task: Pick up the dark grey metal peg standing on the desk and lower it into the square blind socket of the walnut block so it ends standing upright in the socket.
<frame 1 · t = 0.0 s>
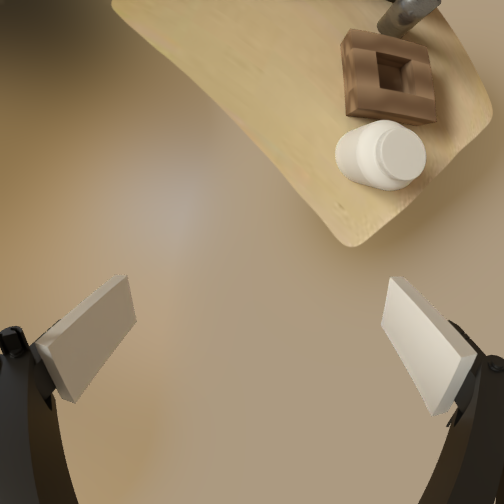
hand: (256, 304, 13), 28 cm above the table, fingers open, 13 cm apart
peg: (389, 29, 29), on the table
pill bottle: (359, 156, 37), on the table
socket block: (380, 83, 33), on the table
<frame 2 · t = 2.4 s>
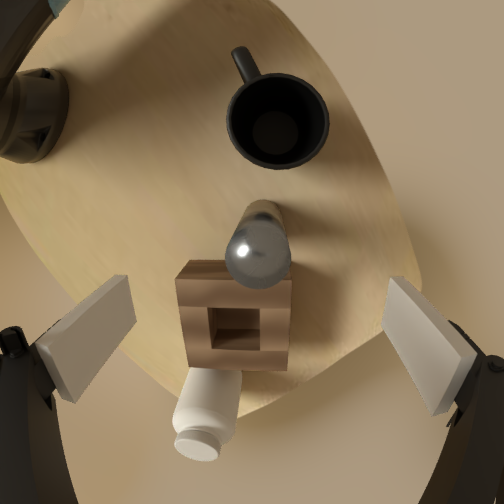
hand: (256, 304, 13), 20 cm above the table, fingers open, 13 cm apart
peg: (262, 218, 32), on the table
pill bottle: (216, 371, 40), on the table
socket block: (239, 304, 35), on the table
mug: (268, 118, 29), on the table
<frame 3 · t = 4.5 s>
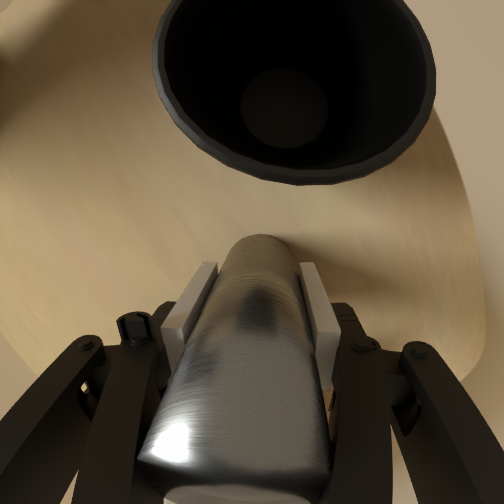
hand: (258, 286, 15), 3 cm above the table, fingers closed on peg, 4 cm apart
peg: (260, 268, 18), on the table, touching gripper
mug: (271, 81, 14), on the table
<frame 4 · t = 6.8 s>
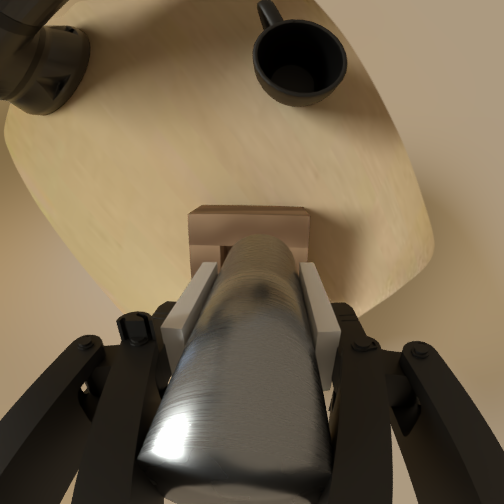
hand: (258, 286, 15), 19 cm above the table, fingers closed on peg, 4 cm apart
peg: (260, 268, 18), point 16 cm above the table, touching gripper
socket block: (251, 254, 34), on the table
mug: (286, 71, 28), on the table
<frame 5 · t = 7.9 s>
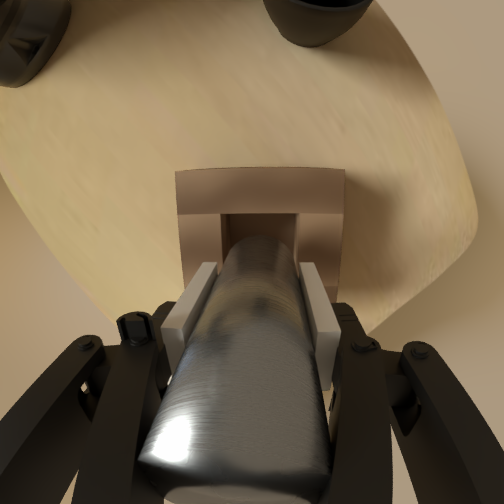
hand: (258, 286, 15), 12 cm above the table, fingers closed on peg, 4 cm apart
peg: (260, 269, 18), point 9 cm above the table, touching gripper
socket block: (262, 231, 26), on the table
mug: (296, 12, 19), on the table
when the fingers open (8 cm above the table, at t = 9.0 s): peg drops 3 cm, resting on socket block.
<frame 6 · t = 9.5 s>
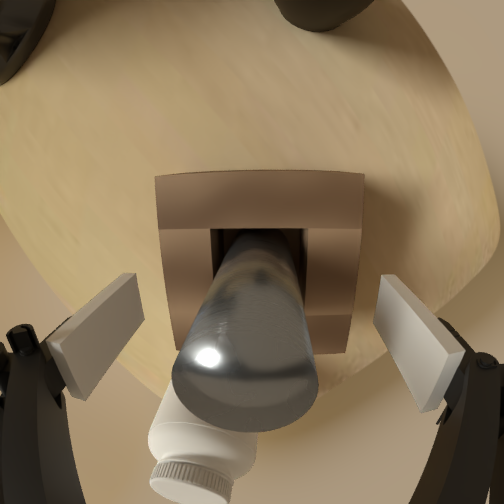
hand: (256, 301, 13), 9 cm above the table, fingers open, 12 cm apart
peg: (260, 251, 21), point 2 cm above the table, touching socket block
pill bottle: (222, 361, 26), on the table
socket block: (262, 246, 22), on the table
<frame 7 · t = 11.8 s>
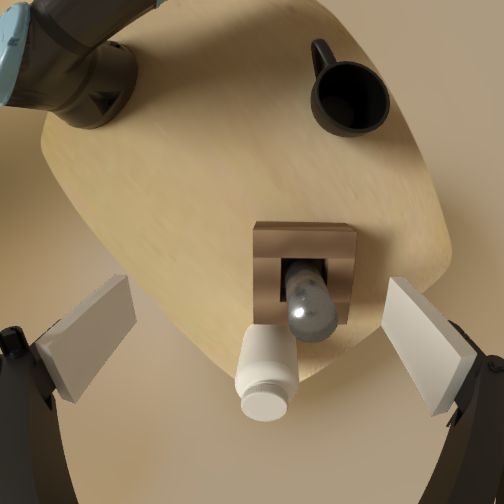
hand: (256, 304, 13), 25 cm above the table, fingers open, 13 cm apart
peg: (300, 268, 37), point 2 cm above the table, touching socket block
pill bottle: (269, 337, 42), on the table
socket block: (300, 265, 38), on the table
mug: (329, 101, 32), on the table
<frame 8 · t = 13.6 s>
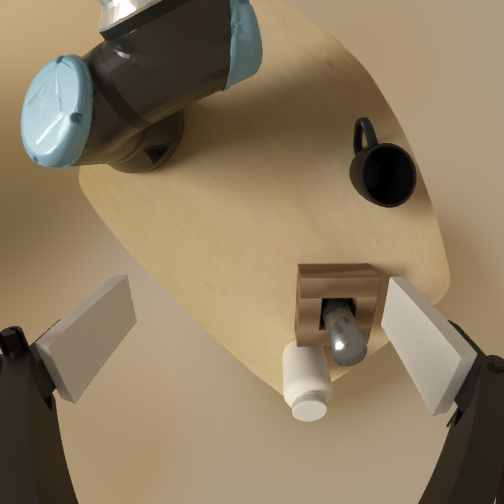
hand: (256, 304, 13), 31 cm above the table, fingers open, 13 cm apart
peg: (332, 301, 45), point 2 cm above the table, touching socket block
pill bottle: (303, 352, 50), on the table
socket block: (330, 296, 46), on the table
mug: (361, 161, 39), on the table
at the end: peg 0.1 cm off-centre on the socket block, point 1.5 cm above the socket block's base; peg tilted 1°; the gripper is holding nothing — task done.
